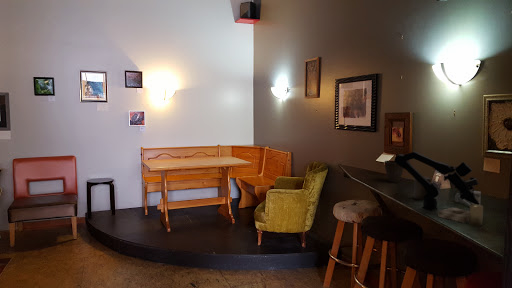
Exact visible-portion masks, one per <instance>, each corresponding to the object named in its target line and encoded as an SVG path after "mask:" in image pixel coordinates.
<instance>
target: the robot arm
mask: <svg viewBox="0 0 512 288" xmlns="http://www.w3.org/2000/svg"><path fill="white" fill-rule="evenodd" d="M413 159H414V160H416V161H418V162H421V163H422V164H425V165H426V166H429V167H431V168H433V169H434V170H435V171H437V172H438V173H439V174H441V175H442V176H443V181H444V182H446V181H447V180H448V181H449V182H450V184H451V185H453V186H454V189H456V190H458V191H459V196H460V198H461V199H462V200H463V199H464V200H466V201H467V202H469V203H470V202H472V203H474V204H477V205H478V204H479V203H478V201H477V200H476V199H475V197H474V196H473V192H472V191H476V190H475V186H478V185H479V181H478V179H477V178H476V177H474V176H471V177H470V178H469V180H465V179H463V178H464V177H466V176H468V175H469V174H470V173H472V172H473V169H472V168H471V166H470V165H468V164H467V163H466V162H465V161H462V162H461V163H460V164H459V165H458V166H457V167H456V166H453V165H450V164H449V163H447V162H443V161H437V160H435V159H432V158H430V157H428V156H426V155H424V154H421V153H419V152H417V151H414V150H413V151H412V152H410V153H409V152H408V153H405V154H404V153H403V154H402V153H401V154H398V155H396V156H395V157H394V159H393V161H395V163H396V164H397V165H399V166H400V167H402V168H403V170H406V172H408V173H409V175H410V176H411V177H413V179H414V180H415V179H416V180H417V181H418V182H419V183H420V184H421V185H422V186H423V187H424V189H425V191H426V192H427V193H426V194H425V195H424V200H423V203H422V204H423V205H422V207H421V208H422V209H424V210H427V211H434V210H437V209H438V202H437V196H439V194H440V192H441V190H440V186H439V185H438V184H437V183H436V182H435V181H432V182H429V181H428V180H427V179H426V178H425V177H426V176H424V175H422V174H421V173H420V172H419V170H418V169H416V168H415V167H414V166H413V164H411V162H410V160H413ZM462 177H463V178H462Z"/></svg>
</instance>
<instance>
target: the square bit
mask: <svg viewBox="0 0 512 288" xmlns="http://www.w3.org/2000/svg"><path fill="white" fill-rule="evenodd" d="M472 192H473V196H474V197H475V199H476V200H477V201H478V203H479V204H478V205H481V194H482V193H481V191H479V190H478V191H477V190H474V191H472ZM470 204H474V203H472V202H471V203H470Z"/></svg>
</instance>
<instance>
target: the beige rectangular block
mask: <svg viewBox="0 0 512 288" xmlns="http://www.w3.org/2000/svg"><path fill="white" fill-rule="evenodd" d="M470 204H471V203H470ZM469 211H470V213H469V221H468V225H469V226H471V227H483V220H484V219H483V217H484V216H483V215H484V205H482V204H480V205H477V204H471V205H470V207H469Z"/></svg>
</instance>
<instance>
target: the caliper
mask: <svg viewBox="0 0 512 288" xmlns="http://www.w3.org/2000/svg"><path fill="white" fill-rule="evenodd" d="M454 202H456V203H459V202H460V203H463V204H465V205H466V206H468V207H469V208H470V205H471V203H470V202H469V201H468V200H465V199H463V200H462V199H461V198H460V193H459V192H456V194H455V196H454Z"/></svg>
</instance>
